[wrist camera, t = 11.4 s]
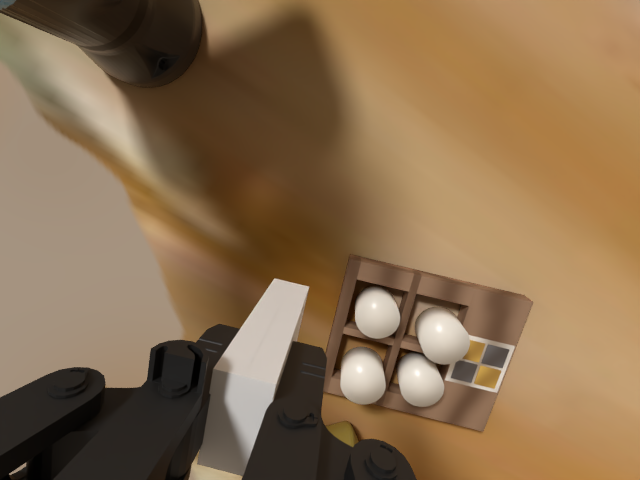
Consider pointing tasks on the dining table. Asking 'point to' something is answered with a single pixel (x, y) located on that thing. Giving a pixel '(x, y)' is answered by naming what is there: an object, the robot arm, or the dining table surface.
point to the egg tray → (459, 378)
